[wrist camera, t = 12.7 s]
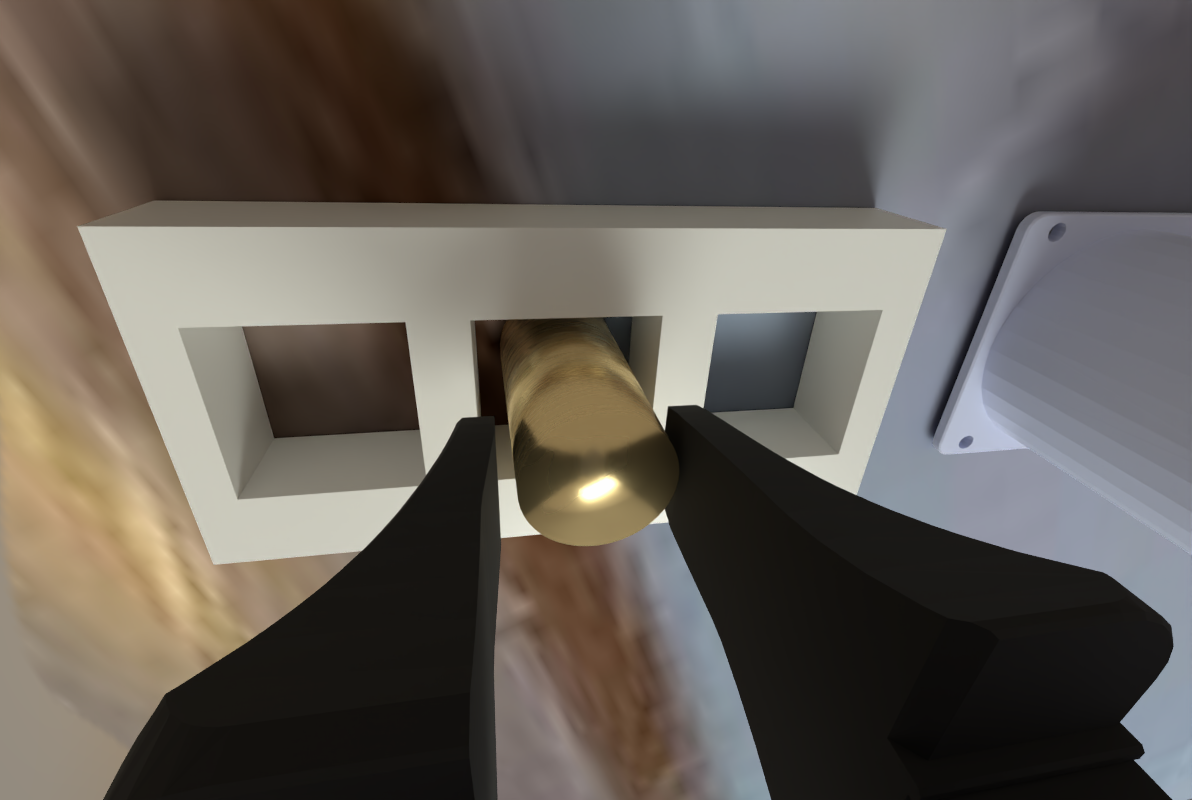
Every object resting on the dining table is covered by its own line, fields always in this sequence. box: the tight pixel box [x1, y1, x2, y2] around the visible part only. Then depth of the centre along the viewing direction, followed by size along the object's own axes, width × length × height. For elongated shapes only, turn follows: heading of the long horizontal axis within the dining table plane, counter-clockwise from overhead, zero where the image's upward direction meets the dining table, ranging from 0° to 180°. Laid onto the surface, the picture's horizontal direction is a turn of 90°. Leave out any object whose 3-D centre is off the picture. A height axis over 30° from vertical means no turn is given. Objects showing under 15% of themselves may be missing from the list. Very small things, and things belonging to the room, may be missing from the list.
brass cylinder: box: [500, 317, 679, 546], centre depth 13 cm, size 3×3×6 cm
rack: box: [77, 200, 946, 565], centre depth 14 cm, size 17×8×3 cm, turn 87°
